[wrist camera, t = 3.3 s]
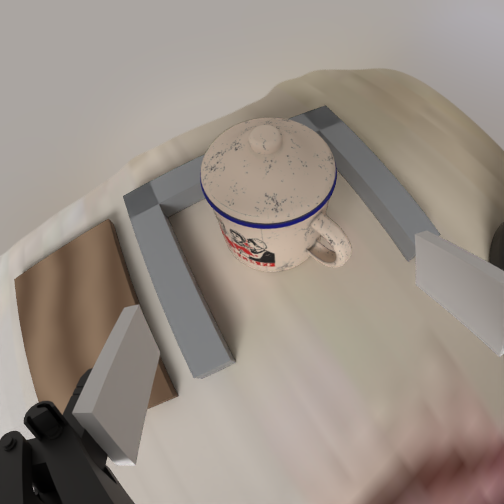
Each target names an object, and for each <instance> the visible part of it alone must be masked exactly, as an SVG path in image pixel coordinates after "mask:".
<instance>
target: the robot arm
mask: <svg viewBox="0 0 504 504" xmlns="http://www.w3.org/2000/svg"><path fill="white" fill-rule="evenodd" d="M415 252H416V286H418V287H419V288H420V289H421V290H423V291H424V292H425V293H426V294H428V295H429V296H430V297H431V298H432V299H434V300H435V301H436V302H437V303H439V304H440V305H441V306H442V307H443V308H445V309H446V310H447V311H448V312H449V313H450V314H452V315H453V316H454V317H455V318H456V319H458V320H459V321H460V322H461V323H462V324H463V325H464V326H466V327H467V328H468V329H469V330H470V331H471V332H472V333H474V334H475V335H476V336H477V337H478V338H479V339H480V340H481V341H483V342H484V343H485V344H486V345H487V346H488V347H489V348H490V349H491V350H492V351H494V352H495V353H496V354H497V355H498V356H499V357H500V356H502V355H503V354H504V222H503V223H502V224H501V226H500V227H499V228H498V229H497V231H496V233H495V235H494V238H493V241H492V245H491V250H490V263H489V262H487V261H485V260H483V259H482V258H480V257H478V256H476V255H474V254H472V253H470V252H468V251H467V250H465V249H463V248H461V247H459V246H457V245H455V244H453V243H451V242H449V241H447V240H445V239H443V238H441V237H439V236H437V235H435V234H433V233H431V232H429V231H424V232H420V233H417V234H415ZM159 357H160V351H159V348H158V346H157V344H156V342H155V340H154V338H153V335H152V333H151V331H150V329H149V326H148V324H147V322H146V320H145V317H144V315H143V313H142V310H141V308H140V305H139V304H138V305H133V306H129V307H125V308H124V309H123V311H122V313H121V315H120V316H119V318H118V320H117V322H116V324H115V326H114V328H113V330H112V331H111V333H110V335H109V337H108V339H107V341H106V343H105V345H104V347H103V349H102V351H101V353H100V355H99V357H98V359H97V361H96V363H95V365H94V367H93V368H91V369H88V370H87V371H86V372H85V373H84V374H83V375H82V376H81V377H80V379H79V381H78V383H77V385H76V388H75V389H74V392H73V396H71V398H70V400H69V402H68V404H67V406H66V408H65V410H64V412H63V415H62V414H61V412H60V411H59V410H58V408H57V407H56V406H55V405H54V403H53V402H51V401H41V402H39V403H37V404H35V405H34V406H32V407H31V408H30V409H29V410H28V412H27V413H26V415H25V417H24V424H25V425H26V427H27V428H28V429H29V430H30V431H31V432H32V434H33V435H34V436H35V437H36V438H34V439H29V440H26V439H25V438H24V437H23V436H22V434H21V433H20V432H18V431H11V432H9V433H6V434H5V435H4V436H3V437H2V438H1V440H0V504H134V502H133V501H132V500H131V498H130V497H129V496H128V494H127V493H126V491H125V490H124V489H123V487H122V486H121V484H120V483H119V482H118V480H117V479H116V477H115V476H114V474H113V473H112V471H111V470H110V469H109V468H108V467H107V466H106V465H105V464H106V460H107V457H109V458H110V459H111V460H112V461H113V462H114V463H115V464H116V465H136V460H137V455H138V450H139V445H140V440H141V435H142V430H143V425H144V421H145V416H146V412H147V407H148V403H149V398H150V394H151V390H152V385H153V381H154V377H155V373H156V369H157V365H158V361H159ZM33 487H34V490H33Z"/></svg>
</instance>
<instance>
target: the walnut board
mask: <svg viewBox="0 0 504 504" xmlns="http://www.w3.org/2000/svg"><path fill="white" fill-rule="evenodd" d="M14 281H15V290H16V299H17V306H18V313H19V320H20V326H21V331H22V337H23V342H24V347H25V352H26V356H27V360H28V365H29V369H30V373H31V377H32V380H33V384H34V388H35V391H36V395H37V398H38V401H39V402H41V401H51V402H53V403H54V405H55V406H56V407H57V408H58V410H59V411H60V412H61V414H62V415H63V412H64V410H65V408H66V406H67V404H68V402H69V400H70V398H71V396H73V392H74V389H75V388H76V385H77V383H78V381H79V379H80V377H81V376H82V375H83V374H84V373H85V372H86V371H87V370H88V369H91V368H93V367H94V365H95V363H96V361H97V359H98V357H99V355H100V353H101V351H102V349H103V347H104V345H105V343H106V341H107V339H108V337H109V335H110V333H111V331H112V330H113V328H114V326H115V324H116V322H117V320H118V318H119V316H120V315H121V313H122V311H123V309H124V308H125V307H129V306H133V305H138V304H139V301H138V298H137V296H136V293H135V290H134V287H133V284H132V281H131V278H130V275H129V272H128V269H127V266H126V263H125V260H124V257H123V254H122V251H121V247H120V244H119V241H118V237H117V234H116V230H115V227H114V224H113V223H112V222H111V221H110V220H109V219H107V220H106V221H104V222H102V223H100V224H99V225H97V226H95V227H94V228H92V229H90V230H89V231H87V232H85V233H84V234H82V235H81V236H79V237H77V238H76V239H74V240H73V241H71V242H69V243H68V244H66V245H65V246H63V247H61V248H60V249H58V250H57V251H55V252H54V253H52V254H51V255H49V256H48V257H46V258H45V259H43V260H42V261H40V262H39V263H37V264H36V265H34V266H33V267H31V268H30V269H28V270H27V271H26V272H24V273H23V274H21V275H20V276H18V277H17V278H16V279H14ZM139 305H140V304H139ZM140 308H141V307H140ZM141 310H142V309H141ZM142 313H143V312H142ZM177 396H178V395H177V393H176V390H175V388H174V386H173V384H172V382H171V380H170V377H169V375H168V373H167V371H166V368H165V366H164V364H163V362H162V359H161V357H159V361H158V365H157V369H156V373H155V377H154V381H153V385H152V390H151V394H150V398H149V403H148V407H147V409H149V408H151V407H154V406H156V405H159V404H161V403H163V402H166V401H168V400H170V399H173V398H175V397H177Z"/></svg>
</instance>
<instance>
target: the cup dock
mask: <svg viewBox="0 0 504 504" xmlns="http://www.w3.org/2000/svg"><path fill="white" fill-rule="evenodd" d="M288 120H292V121H295V122H298V123H300V124H303V125H305V126H307V127H308V128H310V129H312V130H313V131H315V132H316V133H317V134H318V135H319V136H320V137H321V138H322V139H323V140H324V141H325V142H326V143H327V145H328V146H329V148H330V150H331V152H332V154H333V157H334V160H335V163H336V168H337V170H338V171H339V172H340V173H341V174H342V176H343V177H344V178H345V179H346V180H347V182H348V183H349V184H350V185H351V186H352V188H353V189H354V190H355V191H356V193H357V194H358V195H359V196H360V198H361V199H362V200H363V201H364V203H365V204H366V205H367V207H368V208H369V209H370V210H371V212H372V213H373V214H374V216H375V217H376V218H377V220H378V221H379V222H380V224H381V225H382V226H383V228H384V229H385V230H386V232H387V233H388V234H389V236H390V237H391V238H392V240H393V241H394V243H395V244H396V245H397V247H398V248H399V250H400V251H401V252H402V254H403V255H404V257H405V258H406V260H407V261H410V260H411V259H413V258H414V257H415V256H416V252H415V234H417V233H420V232H424V231H429V232H431V233H433V234H435V235H437V236H440V233H439V232H438V230H437V229H436V228H435V226H434V225H433V224H432V222H431V221H430V220H429V218H428V217H427V216H426V214H425V213H424V212H423V211H422V209H421V208H420V207H419V205H418V204H417V203H416V202H415V200H414V199H413V198H412V197H411V196H410V194H409V193H408V192H407V191H406V189H405V188H404V187H403V186H402V185H401V183H400V182H399V181H398V180H397V179H396V178H395V176H394V175H393V174H392V173H391V172H390V171H389V170H388V168H387V167H386V166H385V165H384V164H383V163H382V162H381V161H380V160H379V159H378V157H377V156H376V155H375V154H374V153H373V152H372V151H371V150H370V149H369V148H368V147H367V146H366V145H365V144H364V143H363V141H362V140H361V139H360V138H359V137H358V136H357V135H356V134H355V133H354V132H353V131H352V130H351V129H350V128H349V127H348V126H347V125H346V124H345V123H344V122H343V121H342V120H341V119H339V118H338V117H337V116H336V115H335V114H334V113H333V112H332V111H331V110H330V109H329V108H328V107H327V106H323V107H320V108H317V109H314V110H311V111H308V112H306V113H303V114H300V115H297V116H295V117H292V118H289V119H288ZM204 155H205V154H204ZM204 155H202V156H200V157H198V158H196V159H194V160H192V161H189V162H187V163H185V164H183V165H181V166H179V167H177V168H175V169H173V170H171V171H169V172H167V173H165V174H163V175H161V176H160V177H158V178H156V179H154V180H152V181H150V182H148V183H146V184H144V185H142V186H141V187H139V188H137V189H135V190H133V191H131V192H130V193H128V194H126V195H124V196H123V198H124V201H125V204H126V208H127V211H128V214H129V217H130V220H131V223H132V226H133V229H134V232H135V235H136V238H137V241H138V244H139V247H140V250H141V252H142V255H143V258H144V261H145V263H146V266H147V269H148V272H149V274H150V277H151V280H152V282H153V285H154V287H155V290H156V292H157V295H158V297H159V300H160V302H161V305H162V307H163V310H164V312H165V315H166V317H167V319H168V322H169V324H170V327H171V329H172V331H173V334H174V336H175V338H176V340H177V343H178V345H179V347H180V349H181V352H182V354H183V356H184V358H185V360H186V362H187V365H188V367H189V369H190V371H191V373H192V375H193V377H194V378H201V379H203V378H205V377H207V376H209V375H211V374H213V373H215V372H217V371H219V370H222V369H224V368H226V367H228V366H230V365H232V364H234V363H236V362H235V360H234V358H233V356H232V354H231V352H230V350H229V348H228V346H227V344H226V342H225V340H224V338H223V336H222V334H221V332H220V330H219V328H218V326H217V324H216V322H215V320H214V318H213V316H212V314H211V312H210V310H209V308H208V306H207V303H206V301H205V299H204V297H203V295H202V293H201V291H200V289H199V287H198V284H197V282H196V280H195V278H194V276H193V274H192V272H191V269H190V267H189V265H188V263H187V261H186V258H185V256H184V254H183V252H182V249H181V247H180V245H179V243H178V240H177V238H176V236H175V234H174V231H173V229H172V227H171V224H170V222H169V220H168V217H169V216H171V215H173V214H175V213H177V212H179V211H181V210H183V209H185V208H187V207H189V206H191V205H193V204H195V203H197V202H199V201H201V200H203V199H205V196H204V194H203V191H202V188H201V183H200V170H201V165H202V161H203V158H204Z"/></svg>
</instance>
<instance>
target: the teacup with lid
mask: <svg viewBox="0 0 504 504" xmlns="http://www.w3.org/2000/svg"><path fill="white" fill-rule="evenodd" d="M336 179H337V168H336V163H335V160H334V157H333V154H332V152H331V150H330V148H329V146H328V145H327V143H326V142H325V141H324V140H323V139H322V138H321V137H320V136H319V135H318V134H317V133H316V132H315V131H313V130H312V129H310V128H308V127H307V126H305V125H303V124H300V123H298V122H295V121H292V120H288V119H283V118H257V119H252V120H248V121H245V122H242V123H239V124H237V125H235V126H233V127H231V128H229V129H227V130H226V131H224V132H223V133H222V134H220V135H219V136H218V137H217V138H216V139H215V140H214V141H213V142H212V144H211V145H210V146H209V148H208V150H207V151H206V153H205V155H204V158H203V161H202V165H201V170H200V183H201V188H202V191H203V194H204V196H205V198H206V200H207V201H208V203H209V204H210V205H211V207H212V208H213V210H214V212H215V215H216V217H217V220H218V223H219V225H220V228H221V230H222V233H223V236H224V238H225V241H226V243H227V245H228V247H229V249H230V251H231V252H232V253H233V255H234V256H235V257H236V258H237V259H238V260H239V261H241V262H242V263H243V264H245V265H247V266H249V267H251V268H253V269H256V270H260V271H266V272H278V271H284V270H288V269H291V268H293V267H296V266H298V265H299V264H301V263H302V262H304V261H305V260H306V259H307V258H309V257H310V255H311V256H312V257H313V258H314V259H316V260H317V261H318V262H320V263H322V264H324V265H326V266H329V267H340V266H342V265H344V264H345V263H346V262H347V261H348V259H349V258H350V256H351V254H352V247H351V243H350V241H349V239H348V237H347V236H346V234H345V233H344V231H343V230H342V229H341V228H340V227H339V226H338V225H337V224H336V223H335V222H334V221H333V220H331V219H330V218H329V217H328V216H326V210H327V205H328V201H329V198H330V197H331V195H332V193H333V191H334V188H335V184H336ZM321 235H322V236H323V237H324V238H325V239H326V240H327V241H328V242H329V244H330V245H331V246H332V248H333V249H334V251H335V252H334V251H331V250H329V249H328V248H326V247H325V246H324V245H322V244H321V243H320V242H319V240H320V237H321Z"/></svg>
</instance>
